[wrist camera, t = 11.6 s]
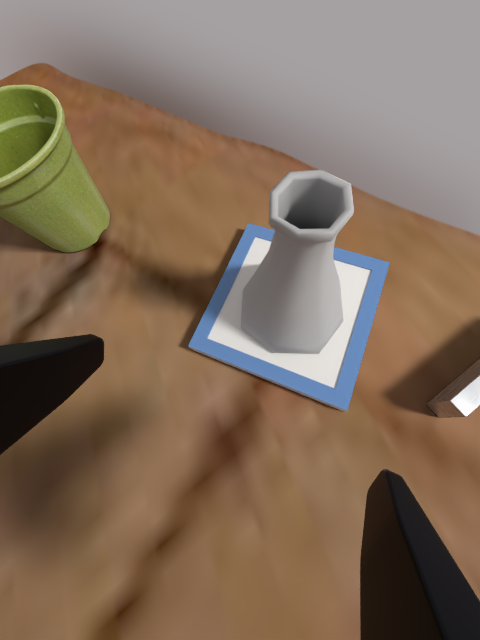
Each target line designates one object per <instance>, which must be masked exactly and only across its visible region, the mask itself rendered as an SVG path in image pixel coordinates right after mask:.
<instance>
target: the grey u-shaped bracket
mask: <svg viewBox="0 0 480 640" xmlns="http://www.w3.org/2000/svg"><path fill="white" fill-rule="evenodd" d="M426 405H427V406H428V407H429V408H430V409H431V410H432V411H433V412H434V413H435V414H436V415H437V416H438V417H439V418H448V417H466V416H468V415H469V414H470V413H471V412H472V411H473V410H474V409H475V408H477V407H478V406H479V405H480V358H479V359H478V360H477V361H476V362H475V363H474V364H472V365H471V366H470V367H469V368H468V369H467V370H465V371H464V372H463V373H462V374H461V375H459V376H458V377H457V378H456V379H455V380H454V381H452V382H451V383H450V384H449V385H448V386H447V387H445V388H444V389H443V390H442V391H441V392H440V393H438V394H437V395H436V396H435V397H434V398H432V399H431V400H430V401H429V402H428V403H427V404H426Z"/></svg>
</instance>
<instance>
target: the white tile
mask: <svg viewBox="0 0 480 640" xmlns="http://www.w3.org/2000/svg"><path fill="white" fill-rule="evenodd" d="M274 232H275V230H272V229H268V228H264V227H261V226H257V225H254V224H250V223H248V225H247V227H246V229H245V231H244V233H243V235H242V237H241V239H240V241H239V244H238V246H237V248H236V250H235V252H234V254H233V256H232V258H231V260H230V262H229V264H228V266H227V268H226V270H225V272H224V274H223V276H222V278H221V280H220V282H219V284H218V286H217V288H216V290H215V292H214V294H213V296H212V298H211V300H210V302H209V304H208V306H207V309H206V311H205V313H204V315H203V317H202V319H201V321H200V323H199V325H198V327H197V329H196V331H195V333H194V335H193V337H192V339H191V341H190V343H189V345H188V347H189V348H190V349H192V350H194V351H197V352H199V353H201V354H204V355H206V356H209V357H211V358H214V359H216V360H219V361H221V362H223V363H226V364H228V365H231V366H233V367H236V368H238V369H241V370H243V371H245V372H248V373H250V374H253V375H255V376H258V377H260V378H263V379H265V380H268V381H270V382H272V383H275V384H277V385H280V386H282V387H285V388H287V389H290V390H292V391H294V392H297V393H299V394H302V395H304V396H307V397H309V398H312V399H314V400H316V401H319V402H321V403H324V404H326V405H329V406H331V407H334V408H336V409H338V410H341V411H343V412H344V411H347V410H348V406H349V403H350V399H351V396H352V392H353V389H354V385H355V382H356V378H357V375H358V371H359V368H360V365H361V361H362V358H363V354H364V351H365V347H366V344H367V340H368V337H369V333H370V330H371V326H372V323H373V319H374V316H375V312H376V309H377V305H378V302H379V298H380V295H381V291H382V288H383V284H384V281H385V278H386V274H387V271H388V267H389V264H390V263H389V262H386V261H382V260H379V259H375V258H372V257H368V256H364V255H361V254H357V253H354V252H350V251H347V250H343V249H339V248H336V247H334V253H333V258H334V263H335V267H336V270H337V273H338V276H339V280H340V288H341V299H342V310H343V322H342V324H341V325H340V326H339V328H338V329H337V330H336V332H335V333H334V334H333V336H332V337H331V338H330V340H329V341H328V342H327V344H326V345H325V346H324V348H323V349H322V350H321V352H320V353H319V354H299V353H274V352H272V351H271V350H270V349H268V348H267V347H266V346H265V345H263V344H262V343H261V342H259V341H258V340H257V339H255V338H254V337H253V336H251V335H250V334H249V333H247V332H246V331H245V330H243V329H242V328H241V317H242V296H243V289H244V288H245V286H246V285H247V283H248V282H249V280H250V279H251V278H252V276H253V275H254V273H255V272H256V270H257V269H258V267H259V265H260V264H261V262H262V261H263V259H264V257H265V256H266V254H267V252H268V251H269V248H270V245H271V241H272V238H273V235H274Z"/></svg>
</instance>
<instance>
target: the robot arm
mask: <svg viewBox="0 0 480 640" xmlns="http://www.w3.org/2000/svg"><path fill="white" fill-rule="evenodd" d="M103 360H104V341H103V339H102V338H100V337H97V336H95V335H92V334H88V335H81V336H73V337H65V338H57V339H49V340H42V341H34V342H26V343H18V344H10V345H3V346H0V455H1V454H2V453H3V452H4V451H5V450H7V449H8V448H9V447H10V446H12V445H13V444H14V443H15V442H16V441H18V440H19V439H20V438H21V437H22V436H24V435H25V434H26V433H27V432H28V431H30V430H31V429H32V428H33V427H34V426H36V425H37V424H38V423H39V422H40V421H42V420H43V419H44V418H45V417H46V416H48V415H49V414H50V413H51V412H52V411H54V410H55V409H56V408H57V407H58V406H60V405H61V404H62V403H63V402H64V401H65V400H67V399H68V398H69V397H70V396H71V395H72V394H73V393H74V392H75V391H76V390H77V389H78V388H79V387H80V386H81V385H82V384H83V383H84V382H85V381H86V380H87V379H88V378H89V377H90V376H91V375H92V374H93V373H94V372H95V371H96V370H97V369H98V368H99V367H100V366H101V364H102V363H103ZM360 617H361V640H480V601H479V599H478V598H477V596H476V594H475V593H474V591H473V590H472V588H471V586H470V585H469V583H468V582H467V580H466V578H465V577H464V575H463V574H462V572H461V570H460V569H459V567H458V566H457V564H456V562H455V561H454V559H453V558H452V556H451V554H450V553H449V551H448V550H447V548H446V546H445V545H444V543H443V542H442V540H441V538H440V537H439V535H438V534H437V532H436V530H435V529H434V527H433V526H432V524H431V522H430V521H429V519H428V518H427V516H426V514H425V513H424V511H423V510H422V508H421V507H420V505H419V503H418V502H417V500H416V499H415V497H414V495H413V494H412V492H411V491H410V489H409V487H408V486H407V484H406V483H405V481H404V479H403V478H402V477H401V476H400V475H398V474H396V473H394V472H391V471H389V470H387V469H383V470H382V471H381V472H380V473H379V475H378V476H377V478H376V479H375V480H374V482H373V483H372V485H371V486H370V488H369V490H368V493H367V500H366V509H365V519H364V529H363V538H362V548H361V563H360Z"/></svg>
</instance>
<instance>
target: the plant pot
mask: <svg viewBox="0 0 480 640" xmlns="http://www.w3.org/2000/svg"><path fill="white" fill-rule="evenodd" d="M0 217H1V218H3V219H4V220H6V221H8V222H10V223H11V224H13V225H15V226H16V227H18V228H20V229H22V230H23V231H25V232H27V233H28V234H30V235H32V236H33V237H35V238H37V239H38V240H40V241H41V242H43V243H45V244H46V245H48V246H50V247H51V248H53V249H56V250H59V251H62V252H68V253H70V252H77V251H81V250H83V249H85V248H88V247H90V246H91V245H93V244H94V243H96V242H97V240H98V238H99V236H100V234H101V233H102V232H103V231H104V230H105V229H107V227H108V225H109V221H110V212H109V209H108V207H107V205H106V204H105V202H104V200H103V198H102V196H101V195H100V193H99V191H98V189H97V187H96V186H95V184H94V182H93V180H92V178H91V177H90V175H89V173H88V171H87V169H86V168H85V166H84V164H83V162H82V160H81V158H80V157H79V155H78V153H77V151H76V149H75V148H74V146H73V144H72V142H71V136H70V133H69V131H68V129H67V127H66V125H65V116H64V111H63V108H62V106H61V104H60V102H59V101H58V99H57V98H56V97H55V96H54V95H53V94H52V93H51V92H50V91H48V90H46V89H44V88H41V87H38V86H34V85H10V86H4V87H0Z"/></svg>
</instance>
